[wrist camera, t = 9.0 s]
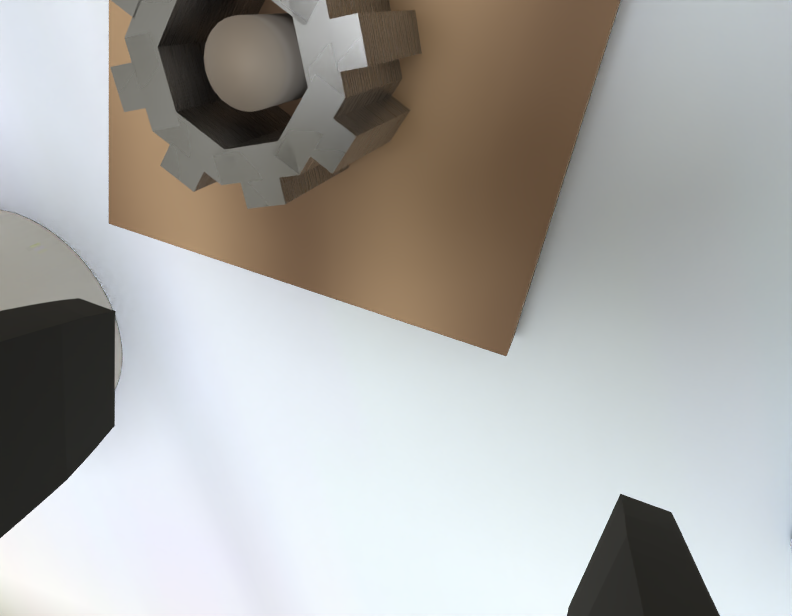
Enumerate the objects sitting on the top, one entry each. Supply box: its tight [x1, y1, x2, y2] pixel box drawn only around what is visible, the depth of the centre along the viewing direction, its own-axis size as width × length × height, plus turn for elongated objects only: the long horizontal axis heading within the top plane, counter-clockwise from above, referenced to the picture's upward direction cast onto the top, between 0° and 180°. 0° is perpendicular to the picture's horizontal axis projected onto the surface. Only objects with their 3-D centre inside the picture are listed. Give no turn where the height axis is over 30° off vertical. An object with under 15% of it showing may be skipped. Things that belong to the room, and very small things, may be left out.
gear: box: [110, 0, 422, 209], centre depth 15 cm, size 6×6×4 cm
